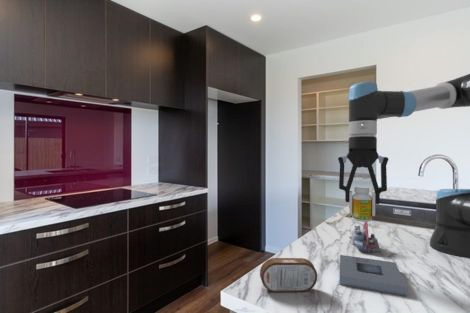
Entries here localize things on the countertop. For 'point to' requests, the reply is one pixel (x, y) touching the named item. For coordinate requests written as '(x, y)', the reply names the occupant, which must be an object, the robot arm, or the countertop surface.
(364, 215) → the supplement bottle
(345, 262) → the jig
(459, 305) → the countertop surface
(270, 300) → the countertop surface
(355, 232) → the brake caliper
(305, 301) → the countertop surface
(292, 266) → the tin
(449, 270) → the countertop surface
